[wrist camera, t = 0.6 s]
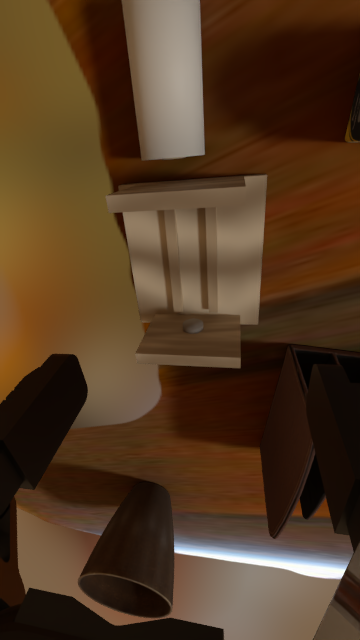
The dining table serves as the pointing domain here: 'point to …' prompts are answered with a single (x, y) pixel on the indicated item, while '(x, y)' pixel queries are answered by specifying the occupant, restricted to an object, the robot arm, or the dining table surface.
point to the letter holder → (296, 436)
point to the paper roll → (166, 76)
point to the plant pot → (135, 556)
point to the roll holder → (194, 265)
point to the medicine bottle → (354, 118)
